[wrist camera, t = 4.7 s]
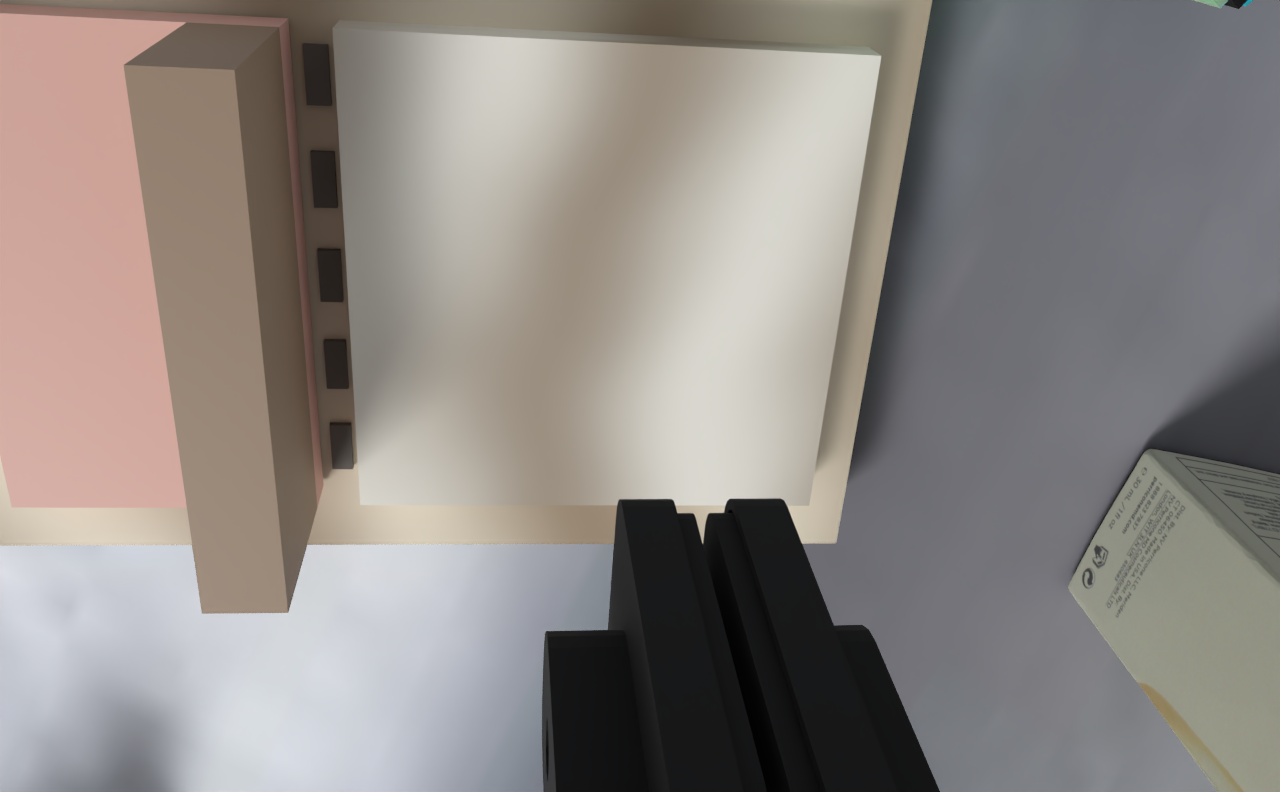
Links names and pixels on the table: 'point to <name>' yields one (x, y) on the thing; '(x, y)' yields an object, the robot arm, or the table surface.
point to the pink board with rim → (159, 284)
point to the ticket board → (577, 259)
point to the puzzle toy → (1226, 3)
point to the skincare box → (1197, 607)
